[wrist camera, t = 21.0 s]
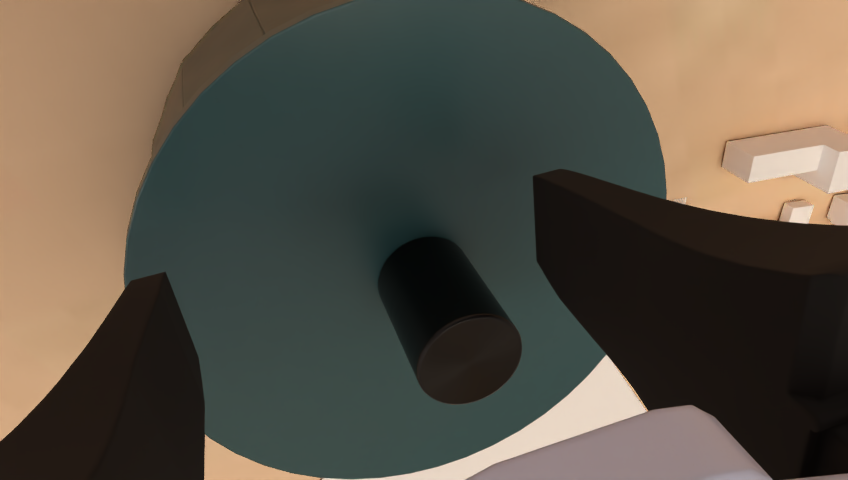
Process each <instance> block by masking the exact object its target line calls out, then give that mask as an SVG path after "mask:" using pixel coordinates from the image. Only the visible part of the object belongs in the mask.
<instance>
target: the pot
mask: <svg viewBox="0 0 848 480" xmlns="http://www.w3.org/2000/svg"><path fill="white" fill-rule="evenodd" d="M334 1H337V0H242V1H241V2H240V3H239V4H238V5H236V6H235V7H234V8H233V9H232V10H230V11H229V12H228V13H227V14H226V15H225V16H224V17H222V18H221V19H220V20H219V21H218V22H217V23H216V24H214V25H213V26H212V27H211V29H210V30H209V31H208V32H207V33H206V34H205V36H204V37H203V38H202V39H201V40H200V41H199V43H198V44H197V45H196V46H195V47H194V48H193V50H192V51H191V52H190V53H189V54H188V55H187V56H186V57H185V58H184V59H183V61H182V63H181V64H180V67H179V70H178V73H177V75H176V78H175V81H174V83H173V85H172V87H171V90H170V92H169V94H168V96H167V99H166V102H165V106H164V109H163V113H162V116H161V119H160V122H159V124H158V127H157V130H156V133H155V135H154V138H153V143H152V153H151V156H152V154H153V153H154V151H155V149H156V148H157V146H158V144H159V143H160V141H161V139H162V138H163V136H164V134H165V133H166V131H167V129H168V128H169V126H170V124H171V123H172V121H173V119H174V118H175V117H176V116H177V115H178V113H179V112H180V111H181V110H182V108H183V107H184V106H185V105H186V104H187V102H188V101H189V100H190V99H191V97H192V96H193V95H194V94H195V93H196V91H197V90H198V89H199V88H200V86H201V85H203V84H204V83H205V82H206V81H207V80H208V79H209V78H210V77H211V76H212V75H213V74H214V73H216V72H217V71H218V70H219V69H220V68H221V67H222V66H223V65H224V64H225V63H226V62H227V61H229V60H230V59H231V58H232V57H233V56H234V55H236V54H237V53H239V52H240V51H241V50H243V49H244V48H246V47H247V46H249V45H250V44H251V43H253V42H254V41H256V40H257V39H259V38H260V37H261V36H263V35H264V34H266V33H267V32H269V31H270V30H272V29H274V28H276V27H278V26H280V25H282V24H284V23H286V22H288V21H290V20H292V19H294V18H295V17H297V16H299V15H301V14H303V13H305V12H307V11H309V10H312V9H314V8H317V7H320V6H323V5H326V4H329V3H332V2H334Z"/></svg>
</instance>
